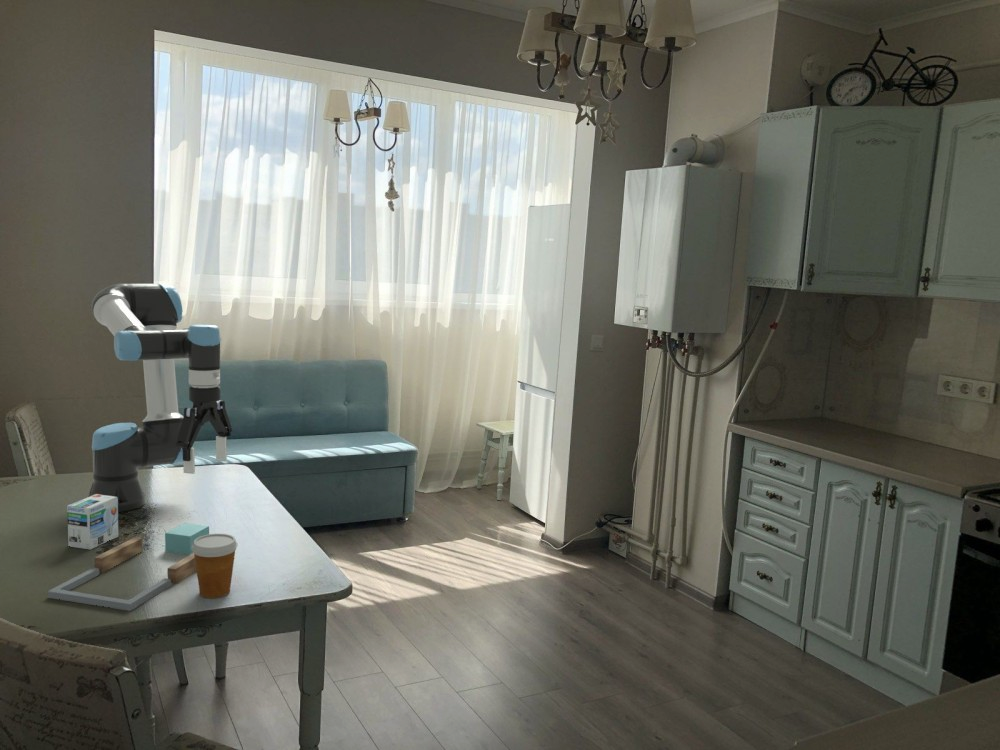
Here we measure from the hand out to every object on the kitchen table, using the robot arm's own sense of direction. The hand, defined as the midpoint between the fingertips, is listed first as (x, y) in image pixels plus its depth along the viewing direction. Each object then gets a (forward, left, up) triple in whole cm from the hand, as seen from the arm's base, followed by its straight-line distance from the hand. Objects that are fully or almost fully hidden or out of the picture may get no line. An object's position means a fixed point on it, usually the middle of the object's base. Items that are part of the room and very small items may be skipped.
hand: (205, 466), depth 202 cm
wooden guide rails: (+21, 0, -19) cm, 28 cm away
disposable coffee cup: (+29, +21, -19) cm, 40 cm away
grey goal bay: (+35, 0, -19) cm, 40 cm away
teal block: (+8, 0, -19) cm, 21 cm away
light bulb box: (+12, -24, -19) cm, 33 cm away
